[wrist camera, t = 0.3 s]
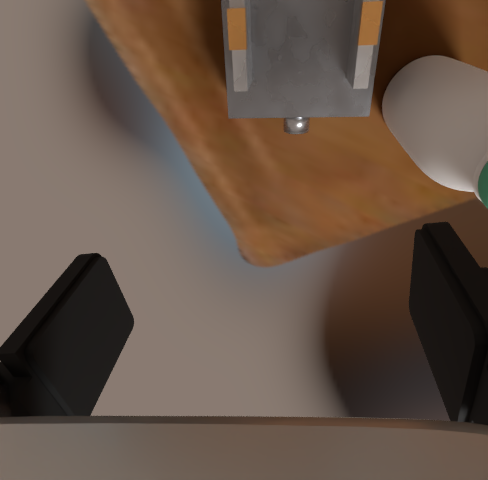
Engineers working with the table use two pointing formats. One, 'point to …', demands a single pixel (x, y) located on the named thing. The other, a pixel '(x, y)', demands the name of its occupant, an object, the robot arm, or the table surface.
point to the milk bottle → (442, 120)
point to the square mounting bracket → (300, 58)
